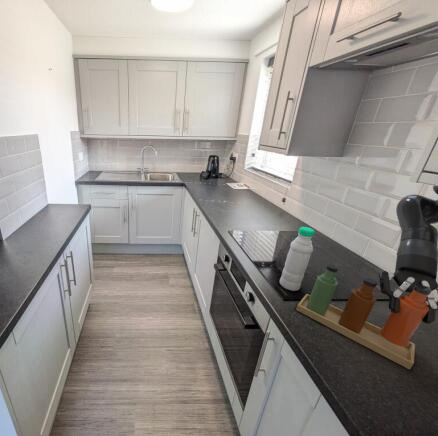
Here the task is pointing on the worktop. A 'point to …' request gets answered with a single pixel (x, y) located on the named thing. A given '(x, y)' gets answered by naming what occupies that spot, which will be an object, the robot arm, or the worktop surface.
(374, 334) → the tray
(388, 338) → the terracotta bottle
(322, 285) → the sage bottle
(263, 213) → the worktop surface
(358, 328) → the amber bottle
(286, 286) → the water bottle
